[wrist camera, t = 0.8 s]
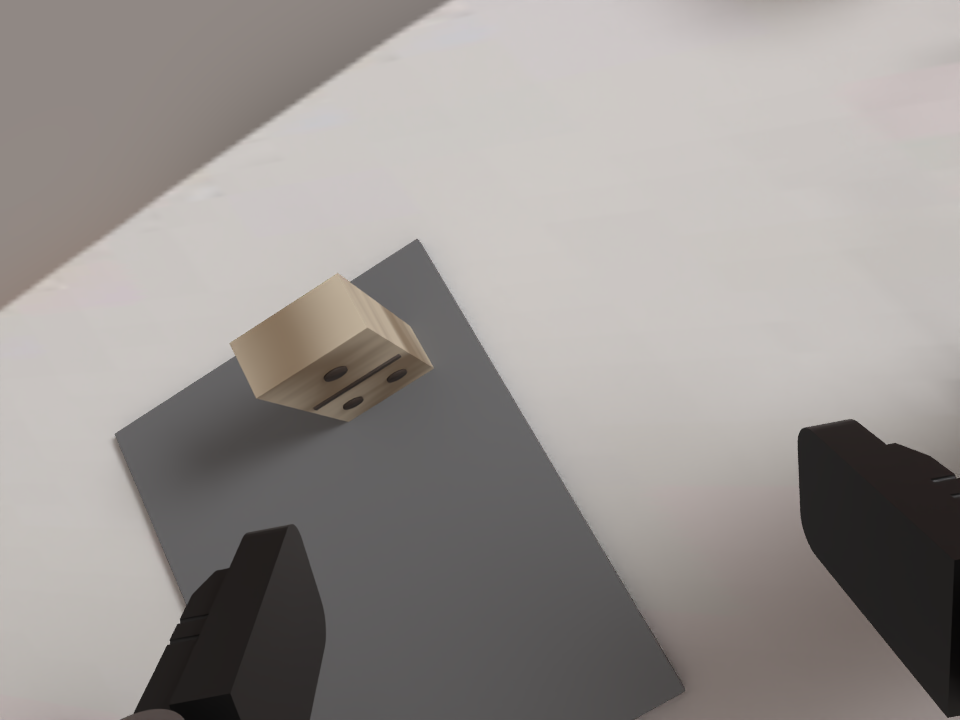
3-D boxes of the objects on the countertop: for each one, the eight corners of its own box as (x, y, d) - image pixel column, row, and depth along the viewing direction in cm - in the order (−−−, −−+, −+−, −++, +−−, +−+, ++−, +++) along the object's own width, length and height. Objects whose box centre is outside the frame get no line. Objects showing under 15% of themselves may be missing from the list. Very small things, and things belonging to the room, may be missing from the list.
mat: (420, 242, 38) (417, 238, 37) (684, 687, 32) (685, 690, 31) (122, 434, 40) (114, 433, 39) (316, 893, 33) (310, 900, 33)
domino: (410, 326, 37) (337, 273, 28) (435, 370, 36) (368, 330, 27) (326, 379, 37) (229, 343, 29) (349, 423, 36) (257, 400, 28)
